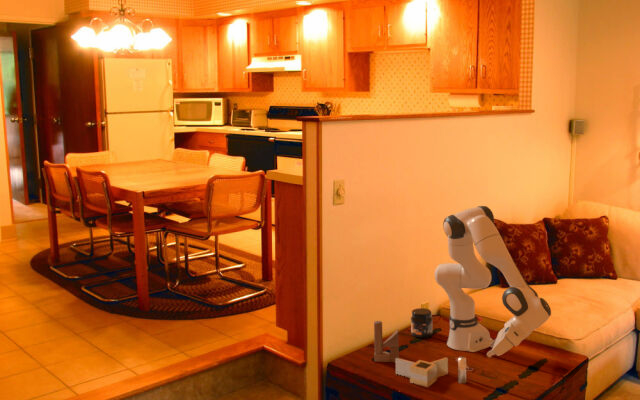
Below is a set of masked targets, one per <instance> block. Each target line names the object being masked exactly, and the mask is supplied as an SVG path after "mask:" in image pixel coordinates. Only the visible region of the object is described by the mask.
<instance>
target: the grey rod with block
mask: <svg viewBox="0 0 640 400" xmlns="http://www.w3.org/2000/svg"><path fill="white" fill-rule="evenodd" d="M373 330H374V331H373V336H374V337H373V339H374V340H373V341H374V353H373V359H374V360H373V361H374V362H376V363H377V362H378V363H395V358H399V357H400V355H399V354H400V353H399V352H400V351H399V329H396V330H395V331H394V332H393V333H392V334H391V335H390V336H389V337H388V338H387V339H386V340H385V341H384V342H383V321H381V320H375V321H374V322H373ZM384 348H389V351H390V352H388V351H383V349H384Z"/></svg>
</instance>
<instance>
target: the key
mask: <svg viewBox="0 0 640 400" xmlns="http://www.w3.org/2000/svg"><path fill="white" fill-rule="evenodd" d="M459 357H462V356H459ZM459 357H455V359H456V360H455V359H454V360H455V362H457V363H458V358H459ZM474 370H475V369H474V368H473V367H469V365H468V364H467V363H466V372H468V373H469V372H473V371H474Z"/></svg>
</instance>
